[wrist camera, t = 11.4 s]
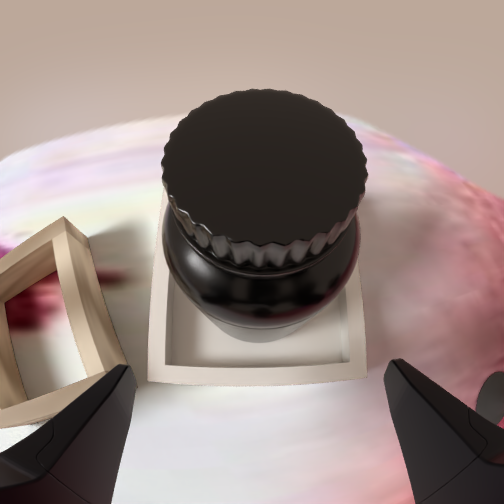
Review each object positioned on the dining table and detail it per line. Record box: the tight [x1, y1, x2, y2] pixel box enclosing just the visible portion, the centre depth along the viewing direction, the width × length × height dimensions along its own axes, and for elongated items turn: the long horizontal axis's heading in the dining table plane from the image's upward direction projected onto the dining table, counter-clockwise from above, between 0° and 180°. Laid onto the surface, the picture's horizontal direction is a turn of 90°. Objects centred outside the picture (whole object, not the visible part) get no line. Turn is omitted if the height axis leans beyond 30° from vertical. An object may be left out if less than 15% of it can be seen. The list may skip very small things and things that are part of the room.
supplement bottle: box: [161, 89, 368, 343], centre depth 12 cm, size 7×7×12 cm
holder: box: [0, 216, 138, 429], centre depth 15 cm, size 11×11×4 cm
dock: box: [148, 188, 367, 386], centre depth 17 cm, size 12×12×2 cm
